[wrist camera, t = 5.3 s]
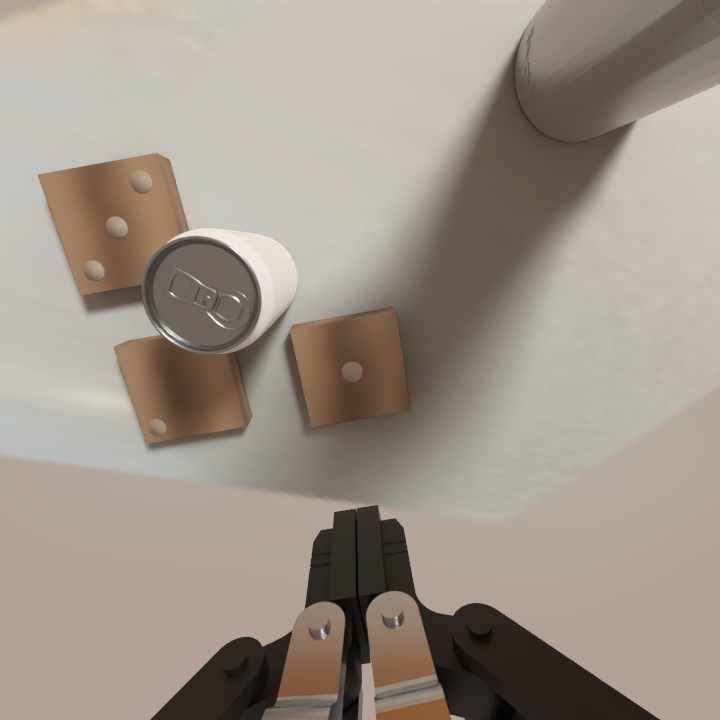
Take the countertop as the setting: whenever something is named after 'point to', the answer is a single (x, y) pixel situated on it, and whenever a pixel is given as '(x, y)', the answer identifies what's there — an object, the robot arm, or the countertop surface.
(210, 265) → the can
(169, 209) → the tile
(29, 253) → the countertop surface
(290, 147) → the countertop surface
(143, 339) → the tile
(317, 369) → the tile
